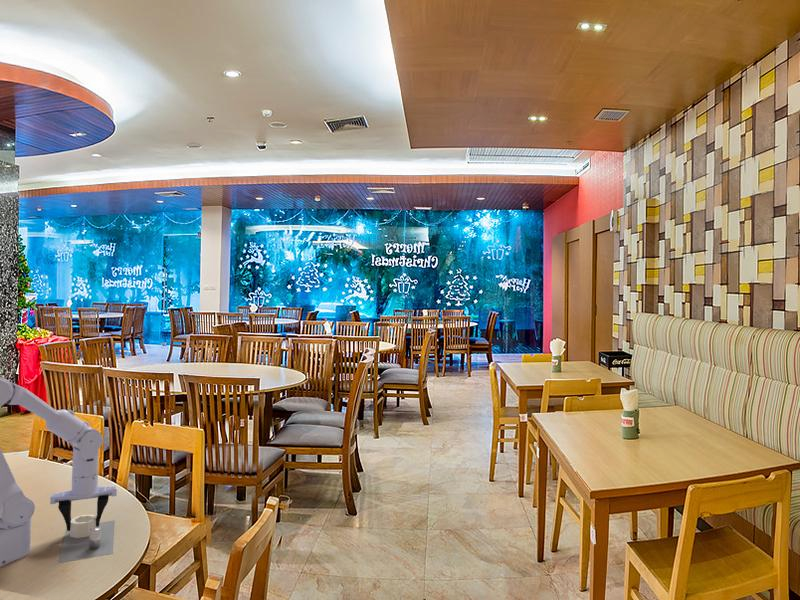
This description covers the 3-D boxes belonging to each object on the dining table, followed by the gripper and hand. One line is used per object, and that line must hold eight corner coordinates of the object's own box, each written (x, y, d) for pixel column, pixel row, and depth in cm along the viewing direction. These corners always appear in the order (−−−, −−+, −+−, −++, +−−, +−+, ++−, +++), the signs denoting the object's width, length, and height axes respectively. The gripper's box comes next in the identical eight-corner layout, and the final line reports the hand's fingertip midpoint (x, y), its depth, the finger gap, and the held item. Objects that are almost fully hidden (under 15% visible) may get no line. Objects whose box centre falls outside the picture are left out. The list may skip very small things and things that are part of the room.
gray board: (112, 558, 124) (112, 553, 124) (57, 568, 119) (57, 563, 119) (114, 524, 142) (114, 520, 142) (66, 532, 136) (66, 527, 136)
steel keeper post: (94, 550, 125) (95, 531, 125) (86, 549, 126) (86, 530, 125) (102, 545, 127) (103, 527, 127) (94, 544, 128) (94, 526, 128)
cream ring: (95, 535, 133) (95, 521, 133) (69, 539, 130) (69, 525, 130) (96, 526, 138) (96, 513, 138) (71, 530, 135) (71, 516, 135)
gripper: (117, 466, 141) (115, 516, 141) (53, 473, 134) (51, 525, 134) (117, 474, 134) (115, 527, 135) (49, 482, 128) (48, 537, 128)
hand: (83, 527), depth 134 cm, fingers closed on cream ring, 6 cm apart
